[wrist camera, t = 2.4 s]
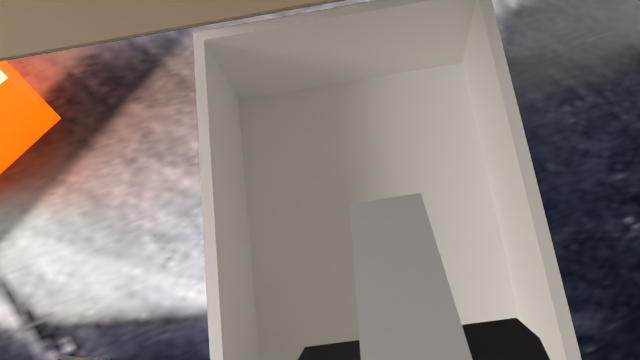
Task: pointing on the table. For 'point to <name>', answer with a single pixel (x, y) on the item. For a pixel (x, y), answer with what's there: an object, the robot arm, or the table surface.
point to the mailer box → (364, 170)
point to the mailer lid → (115, 20)
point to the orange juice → (20, 115)
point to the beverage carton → (72, 359)
